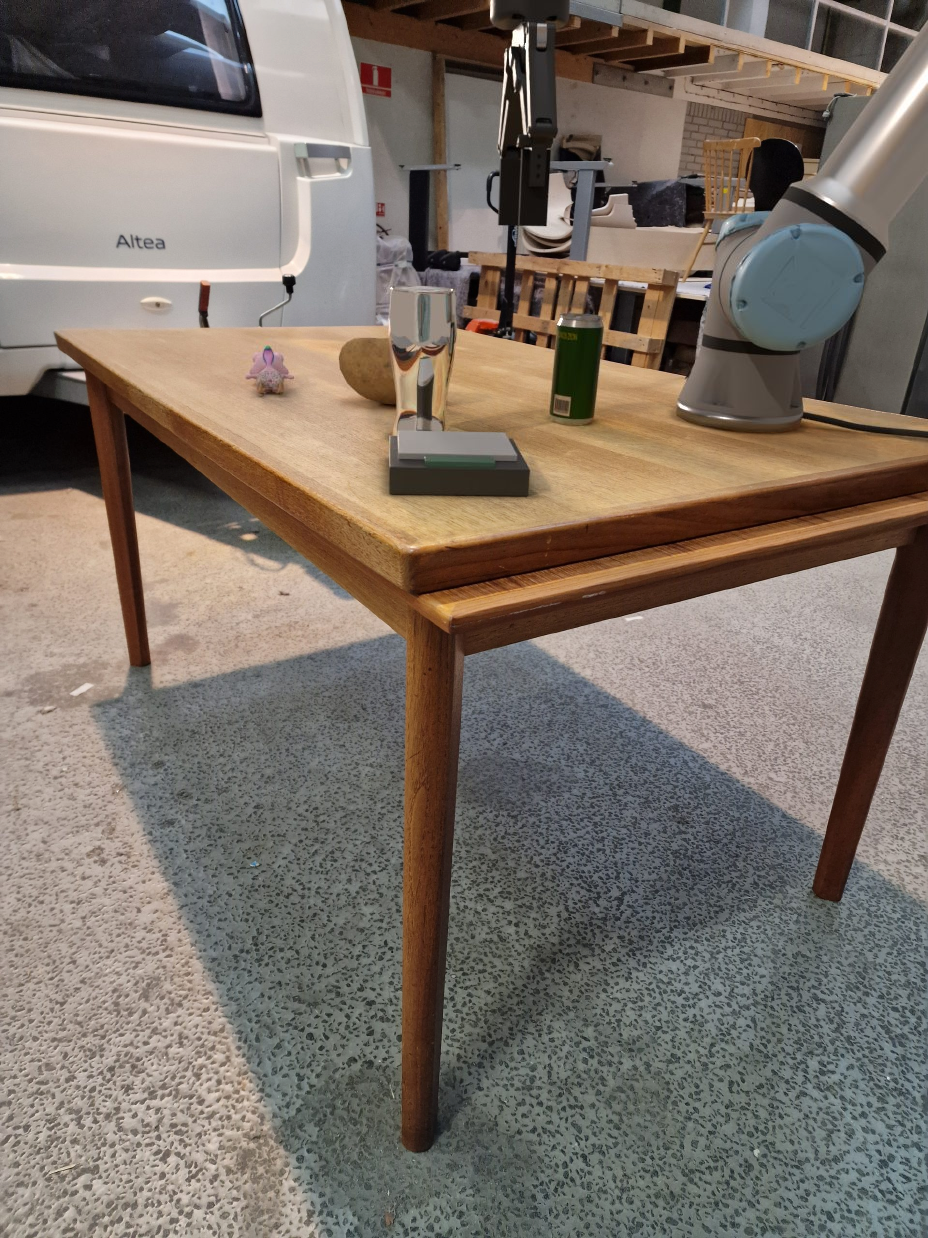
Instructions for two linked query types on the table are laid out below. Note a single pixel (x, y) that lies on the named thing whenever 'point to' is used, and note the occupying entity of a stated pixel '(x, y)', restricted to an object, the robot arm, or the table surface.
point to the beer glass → (422, 354)
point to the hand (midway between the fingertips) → (520, 226)
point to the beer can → (576, 368)
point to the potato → (369, 368)
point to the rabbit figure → (269, 371)
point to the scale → (456, 464)
